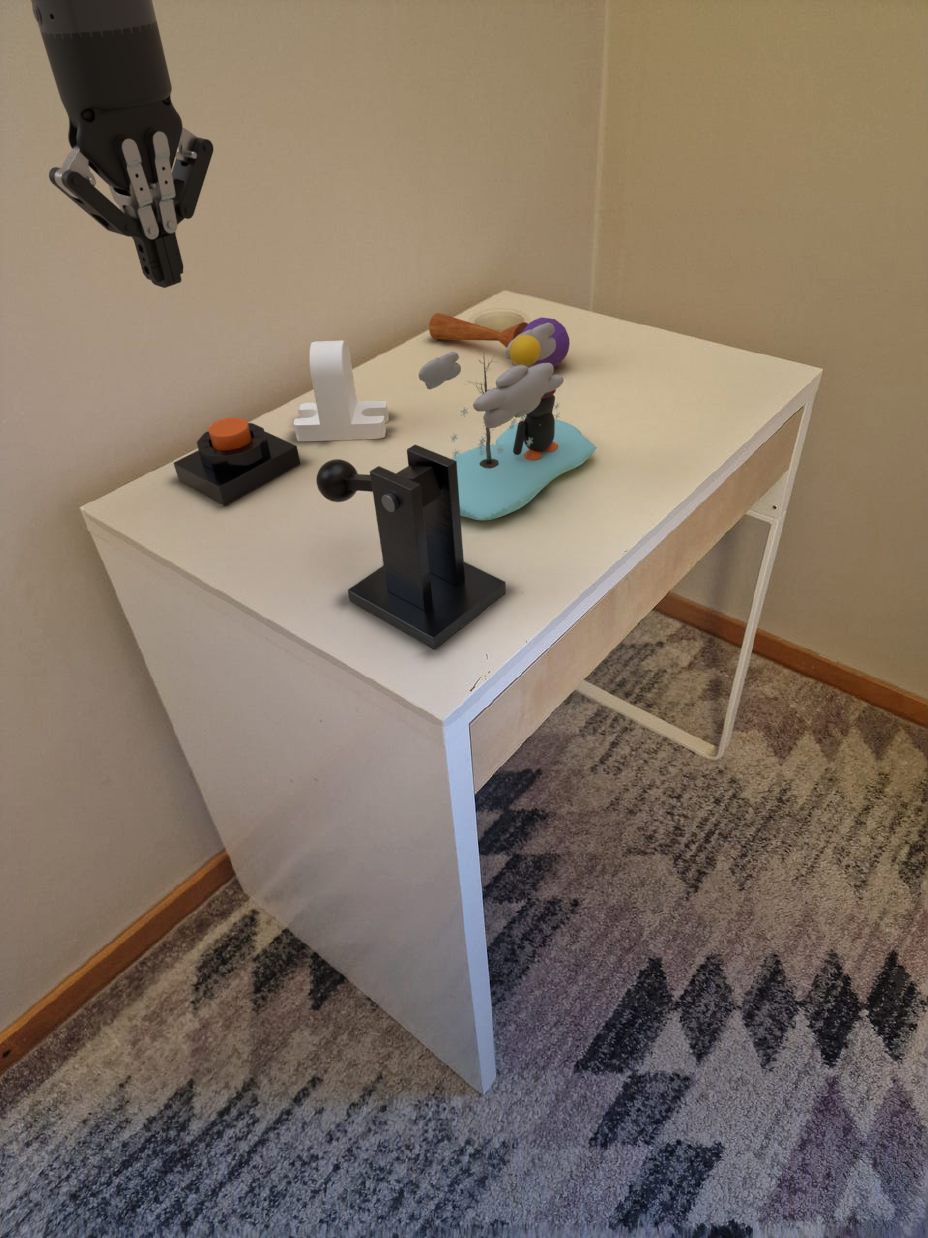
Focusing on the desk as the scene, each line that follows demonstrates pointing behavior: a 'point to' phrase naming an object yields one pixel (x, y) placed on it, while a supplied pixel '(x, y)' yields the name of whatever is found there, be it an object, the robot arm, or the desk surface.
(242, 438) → the button
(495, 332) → the kendama
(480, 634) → the desk surface
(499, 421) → the penguin figurine
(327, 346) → the white mounting bracket
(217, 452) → the button housing
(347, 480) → the lever
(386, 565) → the switch bracket
